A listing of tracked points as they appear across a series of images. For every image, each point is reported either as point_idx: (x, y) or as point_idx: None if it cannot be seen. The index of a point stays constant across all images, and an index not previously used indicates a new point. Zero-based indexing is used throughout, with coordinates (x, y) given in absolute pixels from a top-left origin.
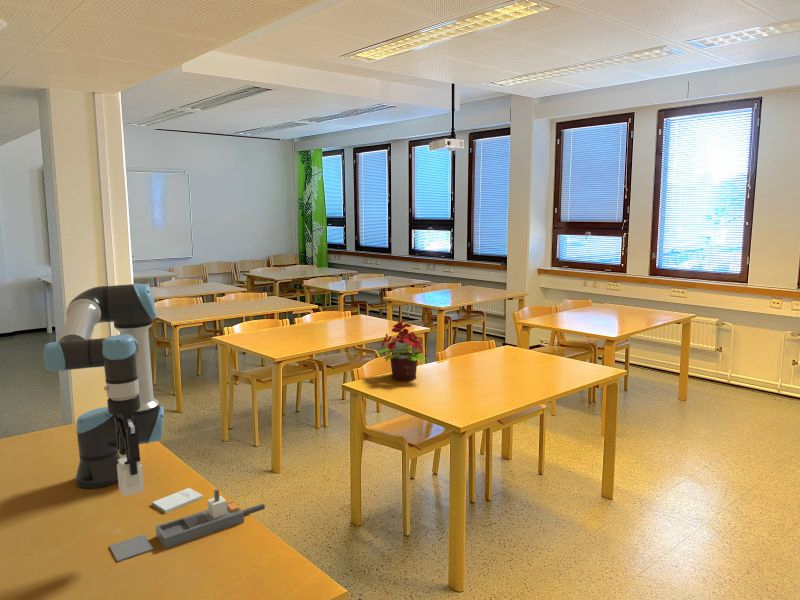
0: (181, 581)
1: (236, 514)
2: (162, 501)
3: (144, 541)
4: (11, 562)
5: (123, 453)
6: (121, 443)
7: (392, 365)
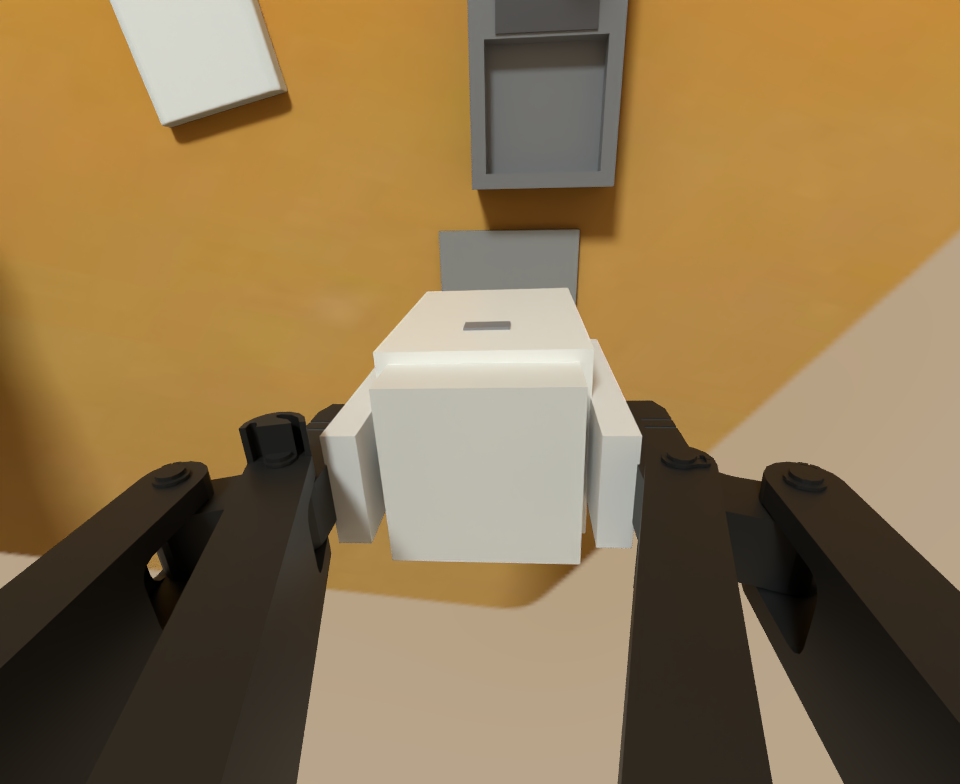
0: (891, 200)
1: None
2: (178, 72)
3: (499, 247)
4: (369, 585)
5: (329, 519)
6: (305, 666)
7: None
